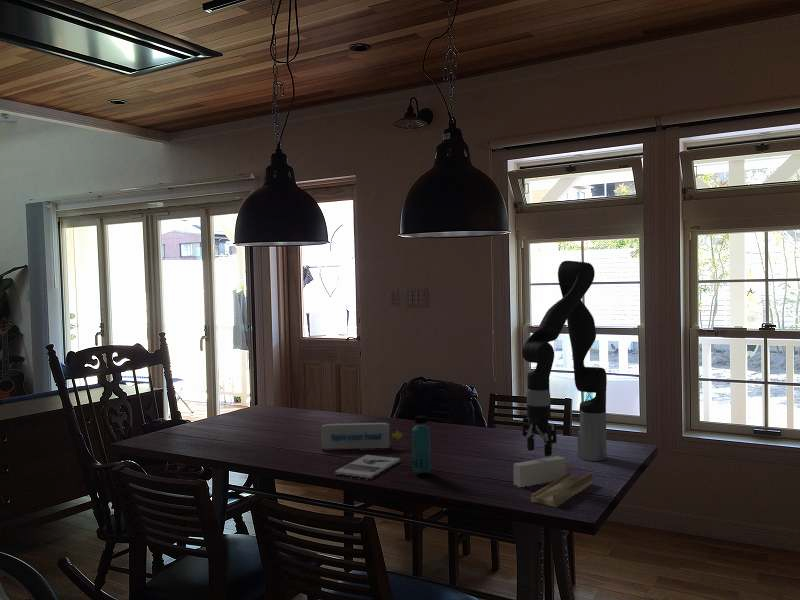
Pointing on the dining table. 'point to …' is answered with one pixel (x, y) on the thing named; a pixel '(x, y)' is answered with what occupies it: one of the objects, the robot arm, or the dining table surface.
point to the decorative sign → (356, 435)
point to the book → (368, 466)
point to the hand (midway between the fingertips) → (539, 453)
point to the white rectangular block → (538, 471)
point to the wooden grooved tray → (561, 490)
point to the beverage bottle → (421, 446)
